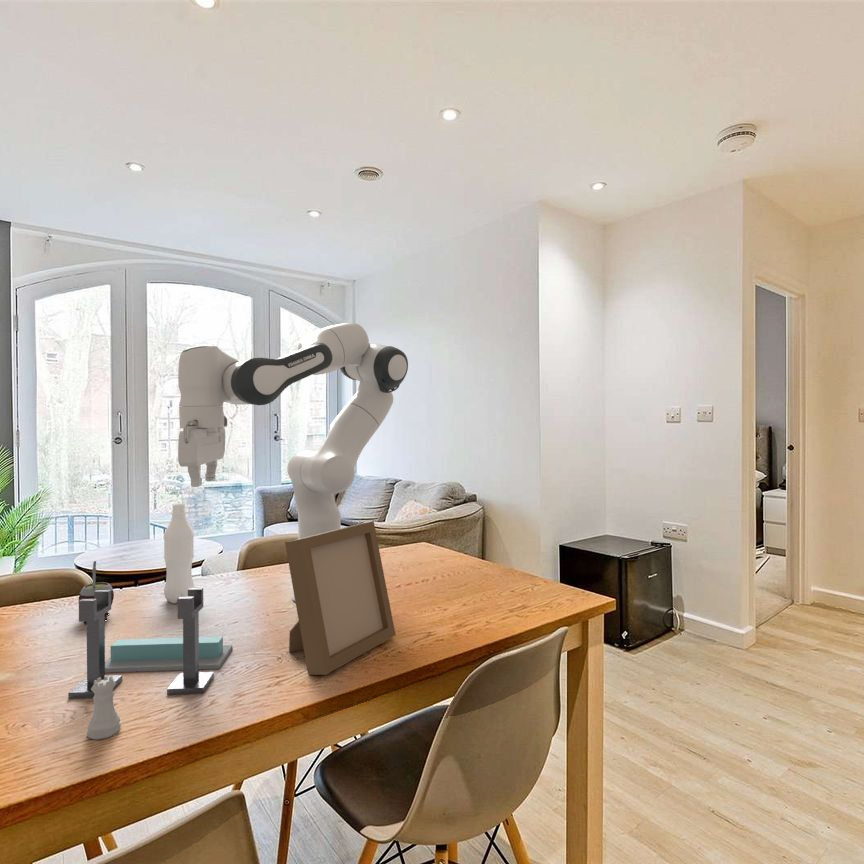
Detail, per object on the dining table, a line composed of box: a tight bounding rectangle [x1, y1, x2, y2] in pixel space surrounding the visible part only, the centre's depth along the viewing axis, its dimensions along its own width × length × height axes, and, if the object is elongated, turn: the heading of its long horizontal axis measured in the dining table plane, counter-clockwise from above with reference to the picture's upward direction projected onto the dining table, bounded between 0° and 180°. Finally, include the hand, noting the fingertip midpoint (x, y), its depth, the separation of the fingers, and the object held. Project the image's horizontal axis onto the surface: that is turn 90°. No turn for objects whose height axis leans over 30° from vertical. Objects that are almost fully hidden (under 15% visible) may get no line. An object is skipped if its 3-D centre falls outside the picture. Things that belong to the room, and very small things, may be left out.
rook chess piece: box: [86, 675, 122, 741], centre depth 83 cm, size 4×4×8 cm
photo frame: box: [284, 520, 396, 676], centre depth 113 cm, size 15×22×25 cm
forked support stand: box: [67, 587, 215, 699], centre depth 97 cm, size 22×6×16 cm, turn 95°
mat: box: [105, 644, 233, 674], centre depth 108 cm, size 22×9×1 cm, turn 95°
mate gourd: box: [78, 560, 115, 624], centre depth 130 cm, size 8×8×15 cm
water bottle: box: [163, 503, 195, 604], centre depth 144 cm, size 7×7×25 cm
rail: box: [110, 635, 224, 661], centre depth 108 cm, size 20×3×3 cm, turn 95°
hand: (203, 483), depth 120 cm, fingers open, 8 cm apart
